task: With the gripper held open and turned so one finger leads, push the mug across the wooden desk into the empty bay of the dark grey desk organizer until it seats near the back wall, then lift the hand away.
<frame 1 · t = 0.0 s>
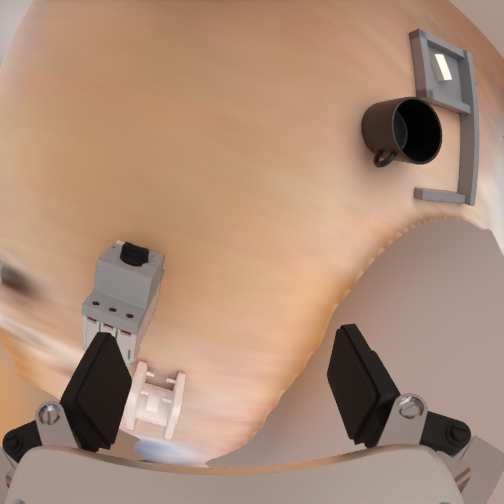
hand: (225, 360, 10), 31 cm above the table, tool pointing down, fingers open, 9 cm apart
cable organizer: (158, 382, 53), on the table
eraser: (437, 68, 31), point 1 cm above the table, touching organizer
circuit breaker: (142, 267, 42), on the table
mug: (381, 136, 37), on the table
organizer: (442, 148, 37), on the table
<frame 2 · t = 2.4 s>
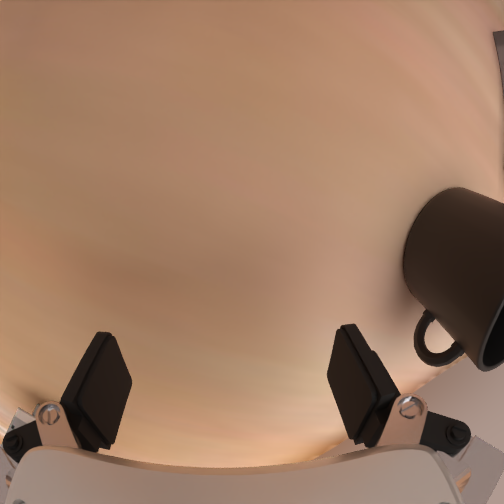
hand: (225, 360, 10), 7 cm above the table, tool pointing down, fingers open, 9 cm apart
circuit breaker: (62, 417, 23), on the table
mug: (436, 258, 17), on the table
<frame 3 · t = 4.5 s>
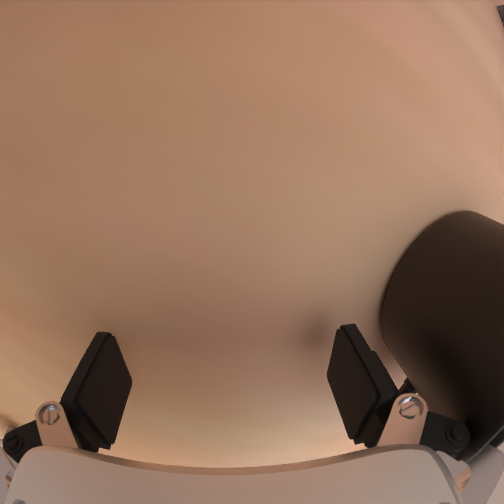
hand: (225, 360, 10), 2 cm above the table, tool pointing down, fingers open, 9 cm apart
mug: (430, 304, 13), on the table, touching gripper
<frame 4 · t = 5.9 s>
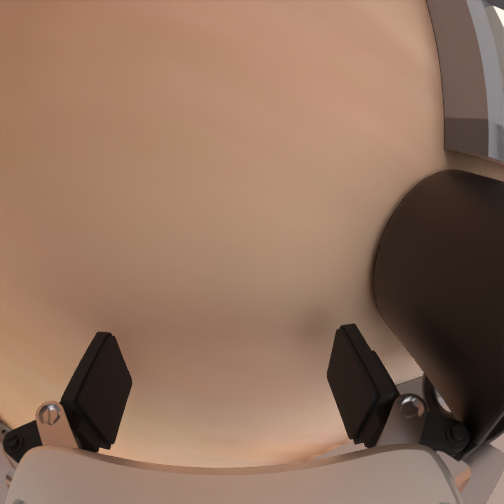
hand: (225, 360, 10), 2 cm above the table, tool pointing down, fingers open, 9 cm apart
eraser: (496, 49, 7), point 1 cm above the table, touching organizer
mug: (432, 276, 13), on the table, touching gripper
organizer: (484, 282, 13), on the table
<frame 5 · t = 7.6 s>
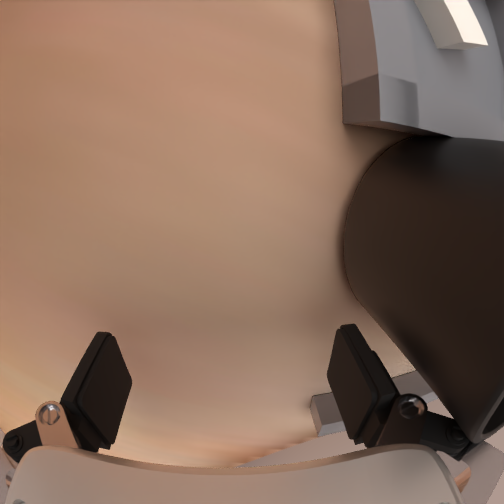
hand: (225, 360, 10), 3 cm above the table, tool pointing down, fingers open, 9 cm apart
eraser: (431, 7, 7), point 1 cm above the table, touching organizer
mug: (420, 253, 12), on the table, touching gripper, organizer
organizer: (430, 283, 13), on the table
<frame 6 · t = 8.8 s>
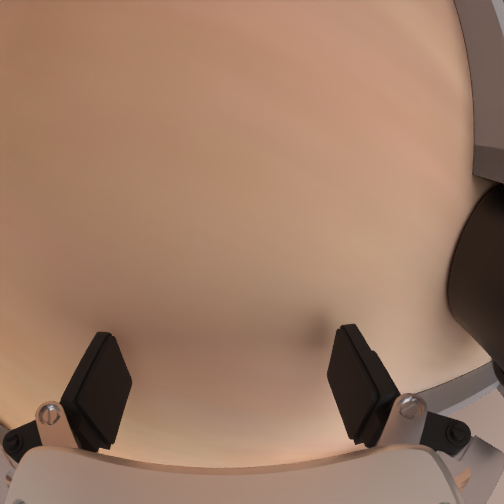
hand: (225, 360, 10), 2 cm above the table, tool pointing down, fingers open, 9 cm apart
mug: (487, 274, 13), on the table
organizer: (496, 298, 13), on the table
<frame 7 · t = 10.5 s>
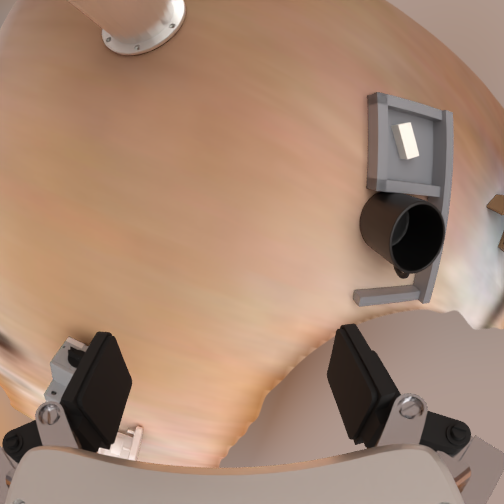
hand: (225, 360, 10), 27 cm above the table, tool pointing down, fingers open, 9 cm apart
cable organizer: (123, 429, 53), on the table
eraser: (401, 140, 33), point 1 cm above the table, touching organizer
circuit breaker: (94, 351, 43), on the table
mug: (385, 228, 38), on the table
organizer: (396, 241, 39), on the table
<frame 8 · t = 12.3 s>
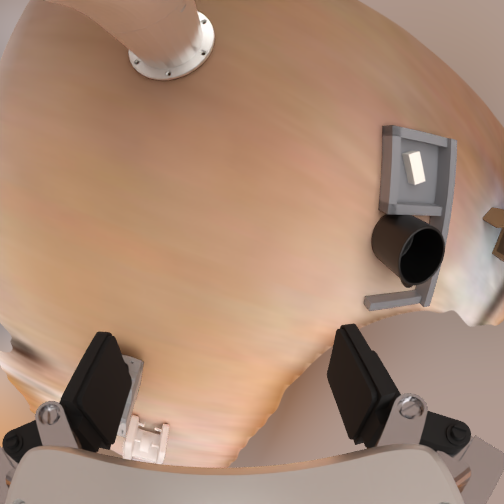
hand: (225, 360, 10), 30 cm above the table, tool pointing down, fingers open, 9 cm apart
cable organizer: (148, 427, 59), on the table
eraser: (410, 166, 37), point 1 cm above the table, touching organizer
circuit breaker: (126, 358, 49), on the table
photo frame: (501, 208, 42), on the table
mug: (393, 243, 43), on the table
organizer: (402, 253, 44), on the table
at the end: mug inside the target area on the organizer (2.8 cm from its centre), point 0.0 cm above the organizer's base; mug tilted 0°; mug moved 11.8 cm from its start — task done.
